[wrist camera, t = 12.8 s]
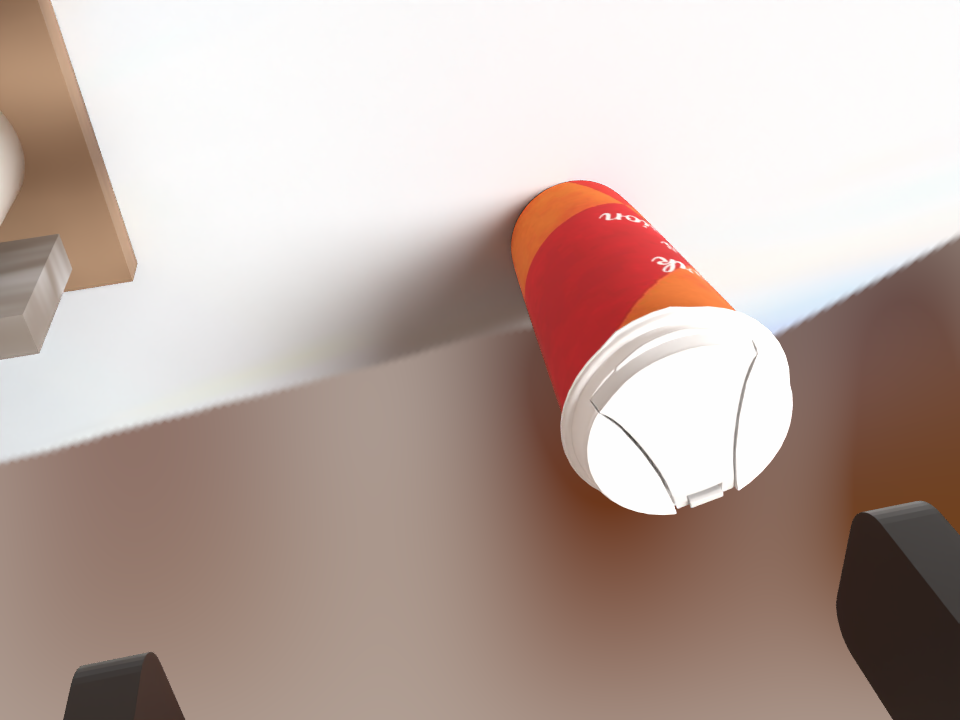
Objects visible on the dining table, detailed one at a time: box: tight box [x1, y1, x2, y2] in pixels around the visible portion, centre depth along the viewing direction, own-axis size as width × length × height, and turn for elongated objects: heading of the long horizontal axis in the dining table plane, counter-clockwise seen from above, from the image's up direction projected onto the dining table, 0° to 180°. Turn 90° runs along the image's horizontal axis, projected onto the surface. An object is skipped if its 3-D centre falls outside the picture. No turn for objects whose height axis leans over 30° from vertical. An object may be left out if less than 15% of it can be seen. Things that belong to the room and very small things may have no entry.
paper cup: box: [511, 180, 792, 515], centre depth 34 cm, size 8×8×14 cm
